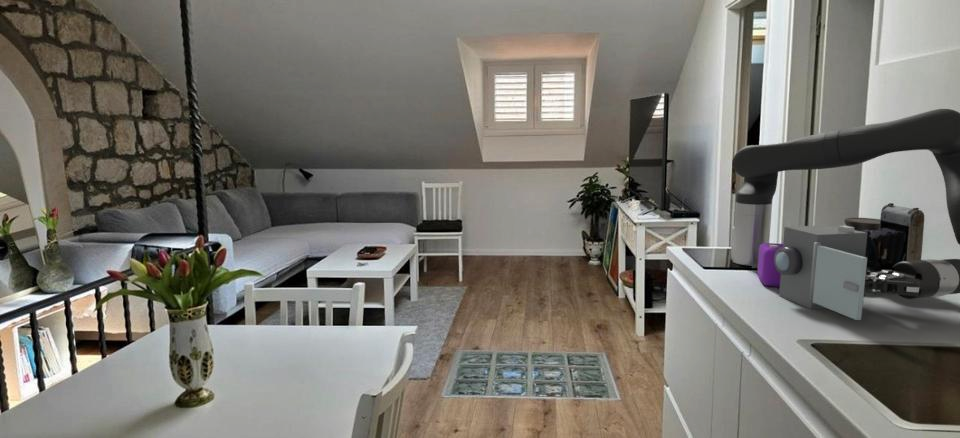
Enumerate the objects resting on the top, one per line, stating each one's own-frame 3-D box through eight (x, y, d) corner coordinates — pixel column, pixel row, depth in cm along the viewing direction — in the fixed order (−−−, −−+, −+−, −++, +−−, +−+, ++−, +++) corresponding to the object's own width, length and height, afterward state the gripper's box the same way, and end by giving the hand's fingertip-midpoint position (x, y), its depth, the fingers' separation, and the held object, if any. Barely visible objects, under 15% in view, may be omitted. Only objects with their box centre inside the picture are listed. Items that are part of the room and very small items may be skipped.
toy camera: (789, 275, 152) (792, 238, 151) (813, 290, 139) (817, 248, 137) (745, 274, 153) (748, 237, 152) (765, 289, 140) (768, 248, 138)
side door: (812, 302, 124) (818, 242, 122) (861, 322, 111) (868, 255, 109) (805, 302, 124) (810, 242, 122) (853, 322, 111) (860, 255, 109)
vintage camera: (829, 284, 145) (835, 205, 142) (888, 281, 146) (895, 202, 143) (857, 296, 136) (864, 211, 132) (920, 292, 137) (928, 208, 133)
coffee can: (890, 279, 148) (896, 224, 146) (843, 275, 152) (848, 222, 150) (880, 270, 158) (886, 218, 155) (836, 267, 162) (841, 216, 159)
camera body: (768, 296, 133) (774, 222, 131) (825, 293, 136) (831, 220, 133) (799, 309, 124) (806, 230, 121) (860, 305, 126) (868, 228, 124)
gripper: (895, 253, 123) (825, 259, 119) (959, 267, 110) (883, 274, 106) (892, 288, 124) (822, 294, 120) (954, 306, 111) (879, 313, 107)
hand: (851, 285), depth 113 cm, fingers closed
